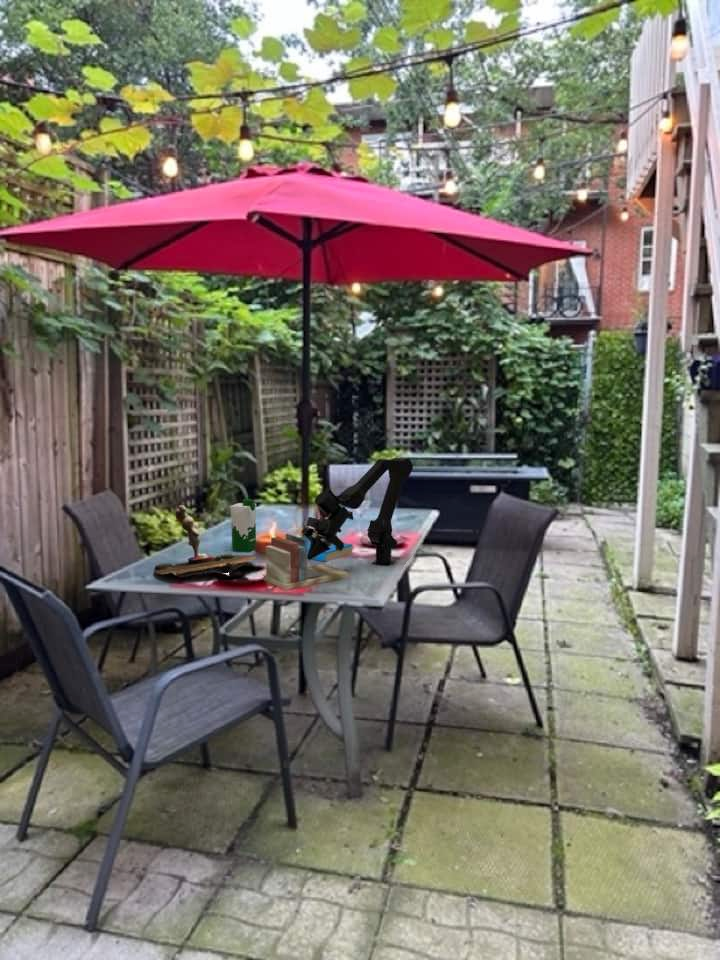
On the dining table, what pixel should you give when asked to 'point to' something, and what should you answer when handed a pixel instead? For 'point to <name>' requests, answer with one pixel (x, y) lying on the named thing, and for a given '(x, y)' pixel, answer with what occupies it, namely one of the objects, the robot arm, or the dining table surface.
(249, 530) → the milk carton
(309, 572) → the bookend
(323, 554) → the book
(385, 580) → the dining table surface
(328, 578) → the book shelf
